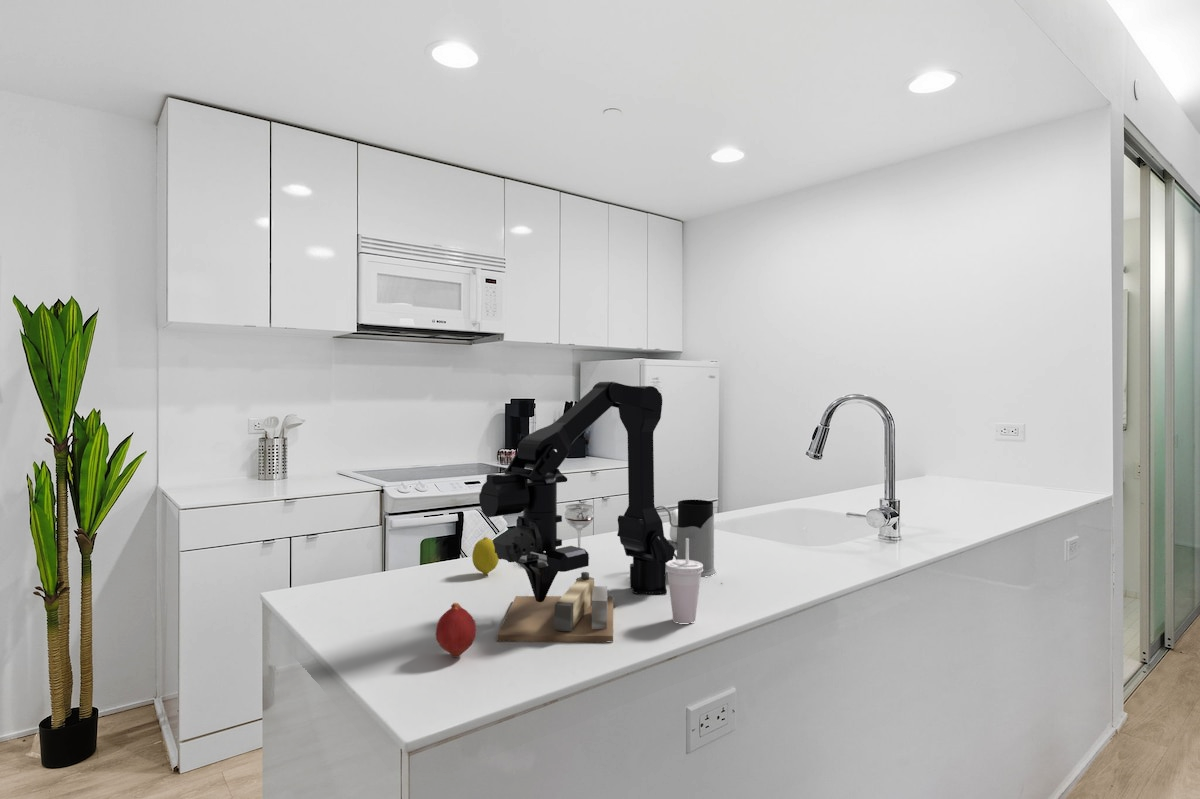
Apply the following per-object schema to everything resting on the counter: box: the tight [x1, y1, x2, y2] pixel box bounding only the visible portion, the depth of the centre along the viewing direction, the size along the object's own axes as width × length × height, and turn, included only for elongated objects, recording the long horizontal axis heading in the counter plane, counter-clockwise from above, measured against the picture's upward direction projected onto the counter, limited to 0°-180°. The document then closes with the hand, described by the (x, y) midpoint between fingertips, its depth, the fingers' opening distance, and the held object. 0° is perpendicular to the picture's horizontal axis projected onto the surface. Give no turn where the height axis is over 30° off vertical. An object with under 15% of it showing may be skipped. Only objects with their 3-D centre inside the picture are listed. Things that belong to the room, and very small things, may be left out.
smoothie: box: [665, 538, 703, 623], centre depth 115 cm, size 6×6×14 cm
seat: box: [496, 571, 614, 643], centre depth 116 cm, size 18×20×6 cm
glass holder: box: [655, 499, 717, 578], centre depth 147 cm, size 9×14×15 cm, turn 68°
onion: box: [435, 602, 477, 658], centre depth 100 cm, size 6×6×8 cm
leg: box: [555, 576, 595, 631], centre depth 115 cm, size 17×3×4 cm, turn 168°
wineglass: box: [564, 503, 595, 548], centre depth 159 cm, size 7×7×12 cm
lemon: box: [471, 536, 500, 576], centre depth 144 cm, size 6×6×8 cm
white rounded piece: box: [669, 508, 716, 543], centre depth 173 cm, size 11×12×9 cm
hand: (540, 601), depth 116 cm, fingers closed
